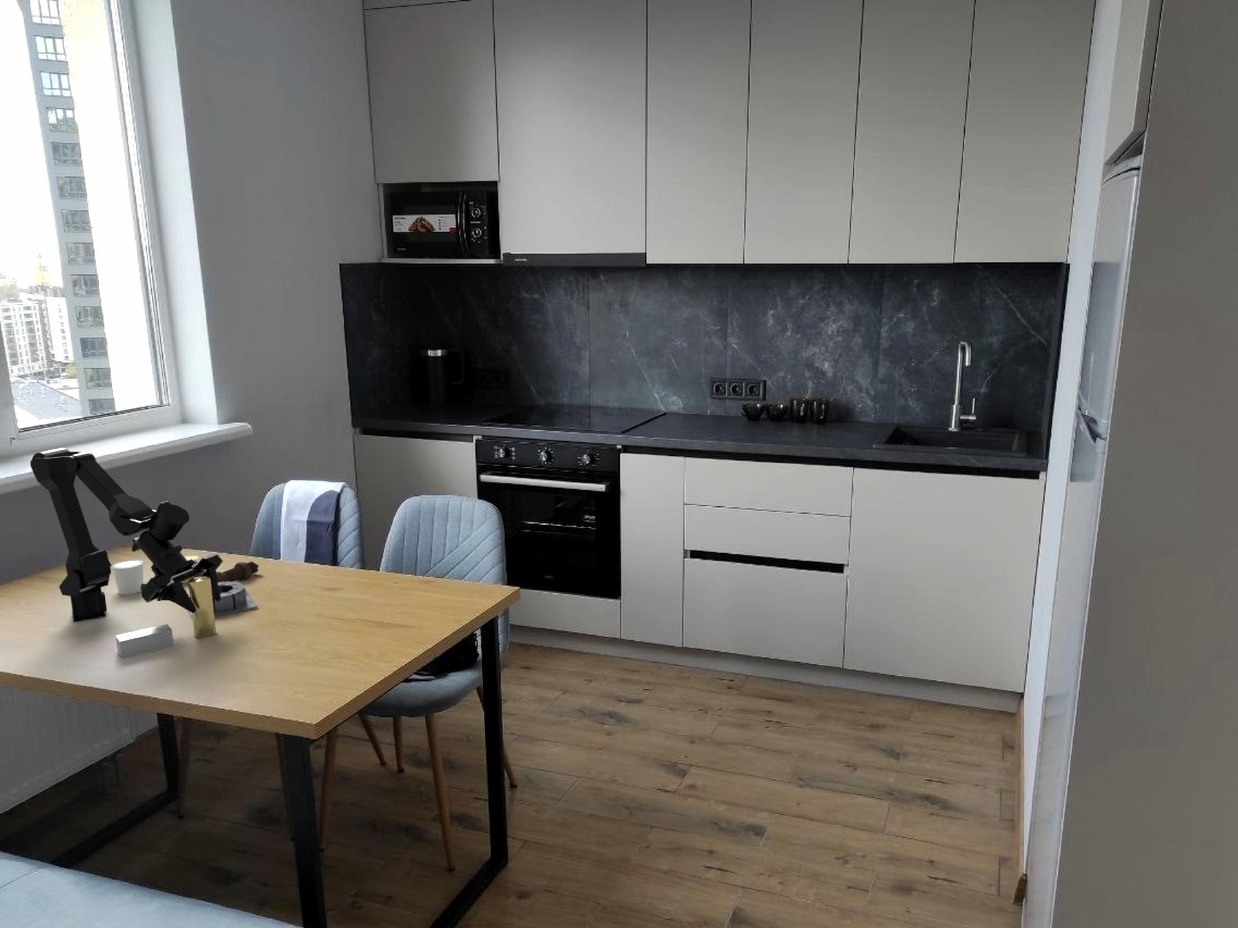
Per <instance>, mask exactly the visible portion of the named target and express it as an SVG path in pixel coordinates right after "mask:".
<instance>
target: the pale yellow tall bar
mask: <svg viewBox="0 0 1238 928" xmlns="http://www.w3.org/2000/svg"><path fill="white" fill-rule="evenodd" d="M187 584H188V590H189V597H190V598H191V600H192V602H193V603H194V605H195V607H196V612H195V613H192V617H191V618H193V619H192V625H193V634H194V635H193V636H194V637H195V638H197V639H203V638H204V639H205V638H210V637H212V636H213V637H214V636H215V635H216V634H217V627H216V625H217V624H216V617H215V616H214V607H213V598H212V589H211V580H210V578H209V577H196V578H195V577H192V579H190V580H189V581H187Z"/></svg>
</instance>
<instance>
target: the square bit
mask: <svg viewBox="0 0 1238 928" xmlns="http://www.w3.org/2000/svg"><path fill="white" fill-rule="evenodd" d="M115 641H116V649H117V654H118V655H119V657H120V658H121V659H125V658H129V657H135V656H139V655H143V654H147V653H150V652H151V653H152V652H155V651H159V650H164V649H167V648H172V647H174V646H175V645H174V644H175V643H174V636H173V629H172V628H171V627H170V626H169V625H168V624H167V623H166V624H162V625H157V626H153V627H148V628H143V629H139V630H134V631H130V632H126V633H122V634H117V635H115Z"/></svg>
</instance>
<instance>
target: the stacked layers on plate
mask: <svg viewBox="0 0 1238 928" xmlns="http://www.w3.org/2000/svg"><path fill="white" fill-rule="evenodd" d="M184 557H185V558H186V559H187V561H188V560H191V559H192V560H193V561H194V562H195V563H194V564H193V565H192V567H195V566H196V565H197V564H198V563H199V561H200V560H197V559H199V557H200V556H198V555H190V556H189V555H187V556H184ZM187 575H188V574H187ZM190 579H193V577H192V578H189V579H187V580H184V581H182V582H181V584H186V583H188V581H189V580H190Z"/></svg>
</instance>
